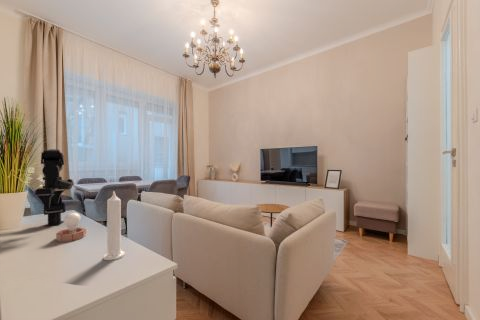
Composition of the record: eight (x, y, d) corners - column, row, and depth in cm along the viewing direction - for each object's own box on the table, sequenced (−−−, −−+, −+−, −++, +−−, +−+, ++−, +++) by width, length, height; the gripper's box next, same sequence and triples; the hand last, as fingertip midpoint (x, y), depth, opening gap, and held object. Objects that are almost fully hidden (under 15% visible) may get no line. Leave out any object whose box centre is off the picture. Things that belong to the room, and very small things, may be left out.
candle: (115, 261, 81) (115, 193, 80) (98, 259, 82) (98, 192, 81) (128, 253, 87) (128, 190, 87) (113, 251, 89) (113, 189, 88)
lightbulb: (84, 234, 107) (84, 211, 107) (73, 238, 100) (73, 214, 100) (71, 233, 107) (72, 210, 107) (60, 238, 101) (60, 214, 101)
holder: (63, 235, 107) (63, 228, 107) (88, 232, 110) (88, 226, 110) (52, 243, 97) (52, 236, 97) (80, 240, 100) (80, 233, 100)
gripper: (63, 176, 104) (63, 209, 105) (78, 173, 122) (78, 201, 122) (34, 177, 101) (34, 211, 101) (53, 173, 118) (53, 202, 119)
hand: (52, 206), depth 111 cm, fingers open, 9 cm apart
